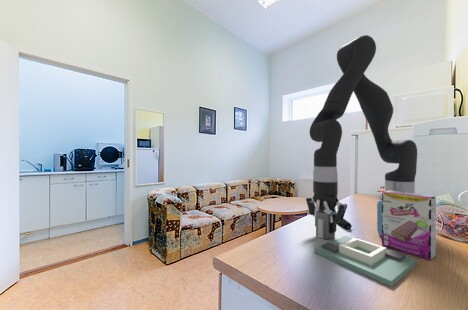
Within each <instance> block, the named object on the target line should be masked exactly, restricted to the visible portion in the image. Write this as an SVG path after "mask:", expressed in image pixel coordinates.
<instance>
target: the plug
mask: <svg viewBox="0 0 468 310" xmlns="http://www.w3.org/2000/svg"><path fill="white" fill-rule="evenodd" d="M329 222H330V220H329V215H328V214H327V212H326V211H325V210H323V211H319V212H316V226H315V236H317V238H319V239H322V240H323V239H325V240H327V241H328V240H331V239H333V238H335V237H336V232H335V233H333V234H331V233H329Z"/></svg>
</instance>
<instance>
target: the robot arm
mask: <svg viewBox="0 0 468 310" xmlns="http://www.w3.org/2000/svg"><path fill="white" fill-rule="evenodd" d="M376 51H377V44H376V41H375V40H374V39H373V37H372V36H371V35H361V36H358V37H356V38H355V39H353V40H351V41H349V42H347V43H346V44H344V45H343V46H341V47H340V48H339V49H338V50H337V53H336V61H337V64H338V67H339V69H340V70H341V72H342V75H341V77H340V78H339V79H338V80H337V81H336V82H335V84H334V85H333V87H331V89H330V91H329V92H328V94H327V96H326V100H325V101H324V104H323V106H322V109H321V110H320V111H319V113H318V114H317V115H316V116H315V118H314V120H313V121H312V123H311V125H310V127H309V136H310V138H311V140H312V141H314V142H315V143H316V142H318V143H321V146H320V147H319V148H318V149H315V150H314V151H313V170H312V179H313V180H312V189H313V190H312V193H313V196H311V197H310V196H309V197H307V198H305V201H306V204H307V209H308V213H309V215H310V216H313V217H314V226H315V227H316V212H319V211H323V210H325V211H326V212H327V214H328V215H329V220H330V222H329V233H331V234H333V233H335V234H336V232H337V222H339V221H342V220H343V218H344V217H345V214H346V211H347V208H348V204H347V203H342V202H340V201H339V198H338V195H339V194H338V193H339V191H338V188H339V184H338V182H339V180H338V168H337V166H338V163H337V161H338V159H337V154H338V150H339V147H340V143H341V140H342V136H343V129H342V124H341V123H340V122H339V121H338V119H341V118H342V117H343V116H344V114H345V112H346V110H347V107H348V105H349V102H350V100H351V97H352V95H353V93H354V95H355V98H356V99H357V101H358V103H359V106H360V109H361V111H362V113H363V115H364V118H365V119H366V122H367V125H368V127H370V130H371V133H372V135H373V138H374V143H375V144H376V145H375V146H376V148H377V153H378V154H379V156H380V158H381V160H382V161H383V162H384V163H387V164H398V167H397V168H396V169H394V170H392V171H389V172H385V174H384V191H388V190H390V191H398V192H406V193H414V194H416V191H415V190H416V188H415V187H416V175H417V166H418V165H417V163H418V162H417V161H418V147H417V146H418V145H416V143H415V141H413V139H412V140H411V139H401V140H399V139H397V140H392V138H391V136H390V132H389V127H390V123H391V121H392V118H393V114H394V106H393V104H392V101H391V98H390V96H389V94H388V92H387V91H386V90H385V89H384V88H382V87H381V86H380V85H378V84H376V83H375V82H373V81H372V80H371V79H369V78H368V77H367V75H365V73H366V71H367V69H368V67H369V66H370V65H371V63H372V61H373V60H374V58H375V56H376ZM336 207H337V210H336ZM336 213H337V214H336Z"/></svg>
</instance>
